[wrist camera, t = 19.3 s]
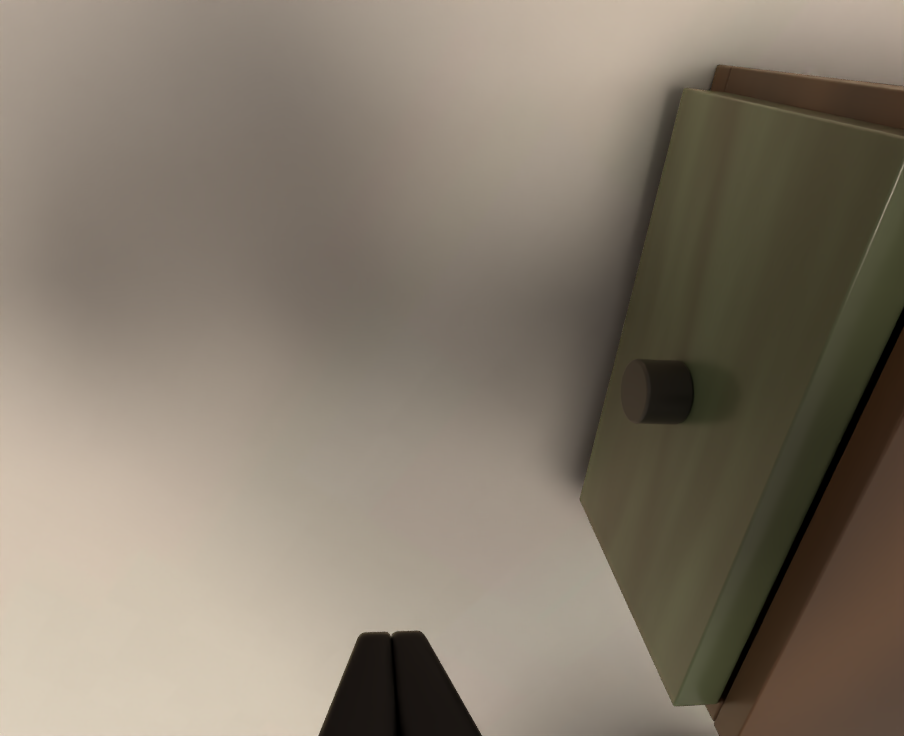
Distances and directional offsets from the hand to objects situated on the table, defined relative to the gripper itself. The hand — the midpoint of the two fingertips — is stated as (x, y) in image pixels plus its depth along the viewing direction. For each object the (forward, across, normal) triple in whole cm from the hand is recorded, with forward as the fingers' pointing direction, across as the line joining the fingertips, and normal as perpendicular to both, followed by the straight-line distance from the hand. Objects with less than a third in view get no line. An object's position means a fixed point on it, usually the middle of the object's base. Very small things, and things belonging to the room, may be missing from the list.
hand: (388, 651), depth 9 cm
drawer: (+11, -13, 0) cm, 17 cm away
